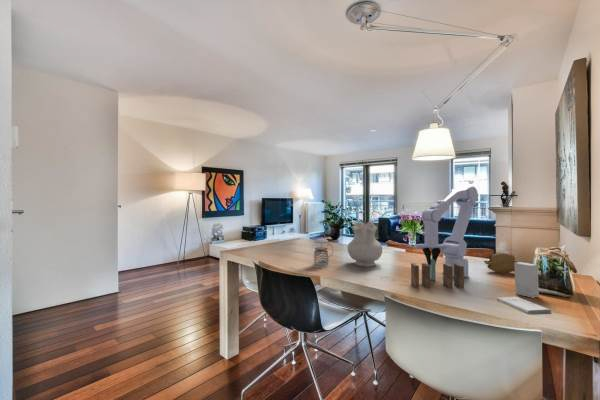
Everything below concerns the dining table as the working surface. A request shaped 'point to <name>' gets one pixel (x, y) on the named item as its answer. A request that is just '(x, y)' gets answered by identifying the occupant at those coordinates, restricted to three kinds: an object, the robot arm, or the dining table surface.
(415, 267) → the domino
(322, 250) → the french press
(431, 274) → the domino
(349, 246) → the ceramic pitcher
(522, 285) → the skincare box
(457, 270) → the domino
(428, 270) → the domino
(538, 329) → the dining table surface
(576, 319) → the dining table surface
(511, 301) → the external hard drive
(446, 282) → the domino
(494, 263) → the wooden carving
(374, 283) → the dining table surface
